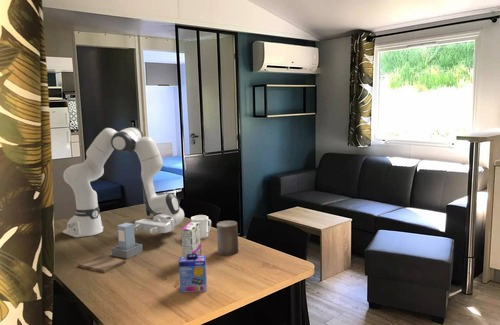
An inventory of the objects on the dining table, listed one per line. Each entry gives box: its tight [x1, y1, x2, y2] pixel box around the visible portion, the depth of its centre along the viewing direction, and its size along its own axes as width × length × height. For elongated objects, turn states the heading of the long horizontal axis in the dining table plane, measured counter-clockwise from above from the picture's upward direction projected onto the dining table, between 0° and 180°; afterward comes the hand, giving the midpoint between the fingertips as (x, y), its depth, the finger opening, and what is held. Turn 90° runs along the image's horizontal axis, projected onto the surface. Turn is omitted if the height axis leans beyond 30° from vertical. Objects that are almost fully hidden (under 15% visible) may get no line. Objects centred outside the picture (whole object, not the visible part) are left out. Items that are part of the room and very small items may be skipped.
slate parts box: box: [116, 222, 136, 250], centre depth 191 cm, size 5×6×14 cm
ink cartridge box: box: [178, 254, 208, 293], centre depth 152 cm, size 10×6×14 cm, turn 95°
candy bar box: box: [180, 221, 202, 257], centre depth 179 cm, size 11×5×16 cm, turn 168°
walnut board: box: [78, 254, 127, 274], centre depth 179 cm, size 16×12×1 cm
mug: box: [190, 214, 212, 240], centre depth 213 cm, size 11×9×10 cm
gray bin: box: [111, 242, 144, 260], centre depth 192 cm, size 10×10×4 cm
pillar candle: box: [216, 220, 240, 256], centre depth 190 cm, size 10×10×15 cm
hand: (141, 229), depth 200 cm, fingers open, 8 cm apart
